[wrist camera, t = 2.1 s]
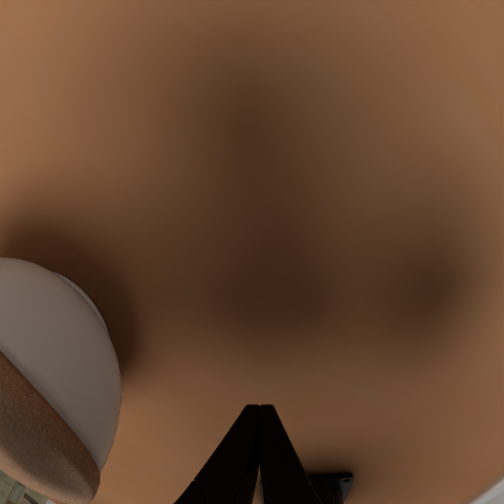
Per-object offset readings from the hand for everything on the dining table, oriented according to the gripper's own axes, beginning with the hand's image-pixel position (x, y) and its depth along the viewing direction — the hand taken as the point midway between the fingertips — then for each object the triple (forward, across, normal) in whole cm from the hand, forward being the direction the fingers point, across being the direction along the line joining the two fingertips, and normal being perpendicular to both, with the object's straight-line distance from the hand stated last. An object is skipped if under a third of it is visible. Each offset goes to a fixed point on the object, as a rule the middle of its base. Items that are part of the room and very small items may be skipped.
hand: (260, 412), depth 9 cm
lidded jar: (+5, +10, 0) cm, 11 cm away
